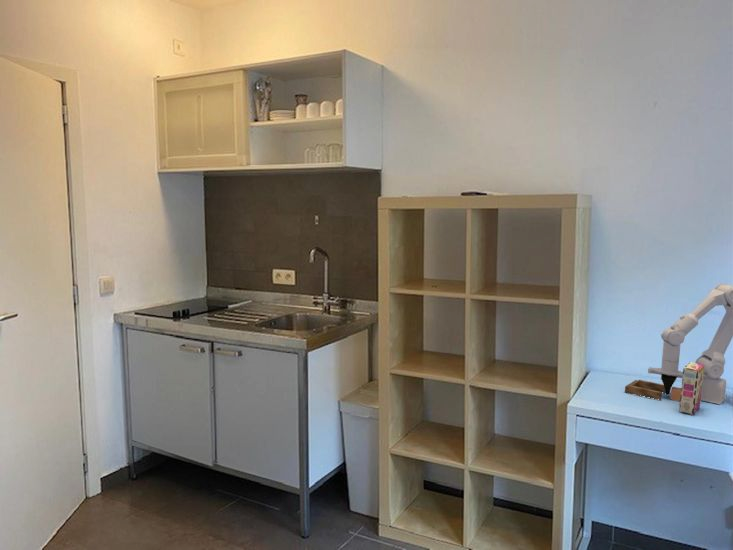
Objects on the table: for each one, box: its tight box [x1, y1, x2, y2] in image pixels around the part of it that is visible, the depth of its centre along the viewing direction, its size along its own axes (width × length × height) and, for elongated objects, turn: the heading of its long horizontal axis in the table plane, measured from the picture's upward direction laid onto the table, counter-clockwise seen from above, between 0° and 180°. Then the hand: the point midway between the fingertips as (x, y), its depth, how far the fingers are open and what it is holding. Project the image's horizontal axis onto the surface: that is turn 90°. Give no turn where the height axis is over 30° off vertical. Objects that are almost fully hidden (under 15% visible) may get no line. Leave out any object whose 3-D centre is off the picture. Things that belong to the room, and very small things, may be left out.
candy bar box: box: [678, 361, 704, 416], centre depth 213 cm, size 11×5×16 cm, turn 141°
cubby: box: [624, 379, 665, 401], centre depth 231 cm, size 13×11×3 cm
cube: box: [670, 386, 682, 402], centre depth 225 cm, size 4×4×4 cm
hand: (667, 394), depth 226 cm, fingers closed
